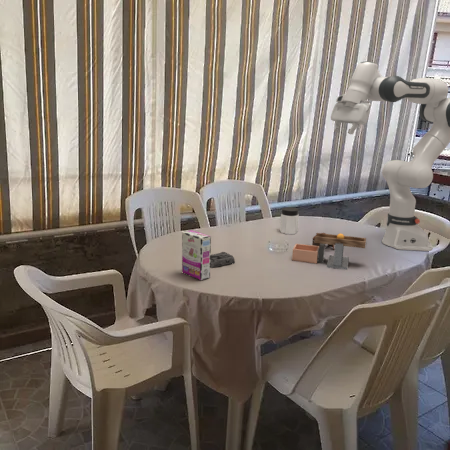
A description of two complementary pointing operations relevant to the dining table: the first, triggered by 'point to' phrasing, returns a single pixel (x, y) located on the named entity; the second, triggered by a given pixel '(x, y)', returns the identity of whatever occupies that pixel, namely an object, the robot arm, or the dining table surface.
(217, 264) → the tank toy
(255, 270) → the dining table surface
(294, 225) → the jar
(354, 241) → the brown wooden tray
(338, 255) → the stand
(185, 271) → the candy bar box
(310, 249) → the pink open box
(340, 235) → the ball
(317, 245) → the pottery mug
